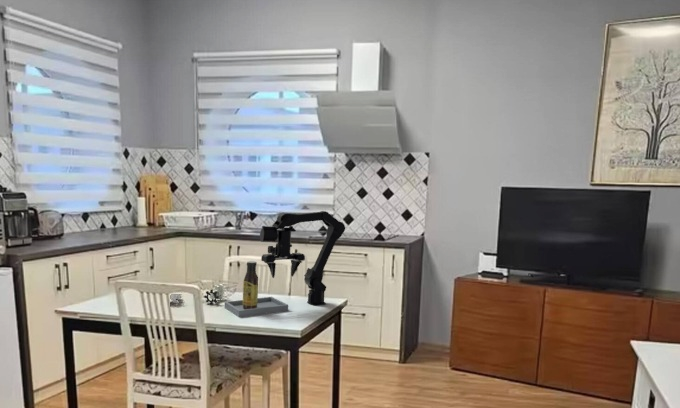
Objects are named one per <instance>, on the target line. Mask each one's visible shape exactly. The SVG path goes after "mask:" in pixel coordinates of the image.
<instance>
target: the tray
mask: <svg viewBox="0 0 680 408" xmlns="http://www.w3.org/2000/svg"><path fill="white" fill-rule="evenodd" d="M224 308H225V309H226V310H227V311H229V312H230V313H232V314H234V315H235V316H237V317H238V318H243V317H250V316H257V315H264V314H265V315H266V314H272V313H279V312H287V311H289V304H288V303H285V302H283V301H281V300H280V299H277V298H275V297H273V296H265V297H258V300H257V308H254V309H244V308H243V299H239V300H229V301H224Z"/></svg>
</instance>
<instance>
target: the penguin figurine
mask: <svg viewBox="0 0 680 408" xmlns="http://www.w3.org/2000/svg"><path fill="white" fill-rule="evenodd" d="M182 298H183V296H182V294H171V295H170V299H171V302H172V303H174V304H175V305H176V304H177V305H178V304H179V303H180V300H181V299H182ZM176 299H177V300H176Z"/></svg>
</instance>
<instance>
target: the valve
mask: <svg viewBox="0 0 680 408" xmlns="http://www.w3.org/2000/svg"><path fill="white" fill-rule="evenodd" d="M224 292H225V291H224V285H223V284H215V285H214V289H210V290H206V291H205V294H206V295H204V296H203V298H204V299H206V300H205V303H209V305H213V304H214V303H215V304H216V303H218V300H216V299H222V300H224V294H225V293H224Z"/></svg>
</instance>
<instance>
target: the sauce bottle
mask: <svg viewBox="0 0 680 408" xmlns="http://www.w3.org/2000/svg"><path fill="white" fill-rule="evenodd" d="M256 268H257V261H254V260H249V261H247V262H246V273H245V276H244V279H243V281H242V282H243V286H242V300H243V308H244V309H254V308H257V300H258V298H259V276H258V274H257V269H256Z"/></svg>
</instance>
